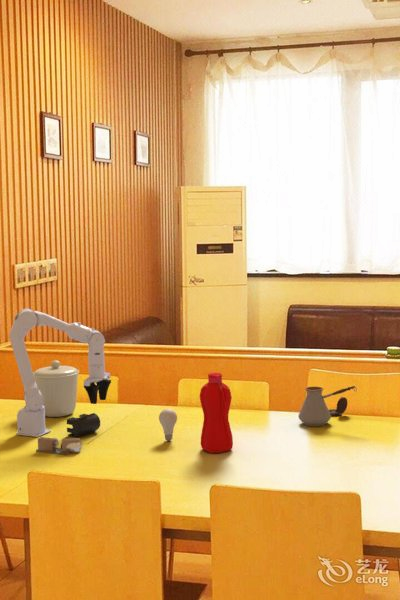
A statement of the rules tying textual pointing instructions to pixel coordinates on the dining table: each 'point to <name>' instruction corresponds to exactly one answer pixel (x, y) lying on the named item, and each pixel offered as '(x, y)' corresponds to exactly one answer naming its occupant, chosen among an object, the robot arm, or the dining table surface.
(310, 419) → the coffee pot
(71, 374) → the canister
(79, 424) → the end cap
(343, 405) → the compass
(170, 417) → the lightbulb
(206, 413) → the water bottle
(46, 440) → the shaft rig
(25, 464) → the dining table surface
